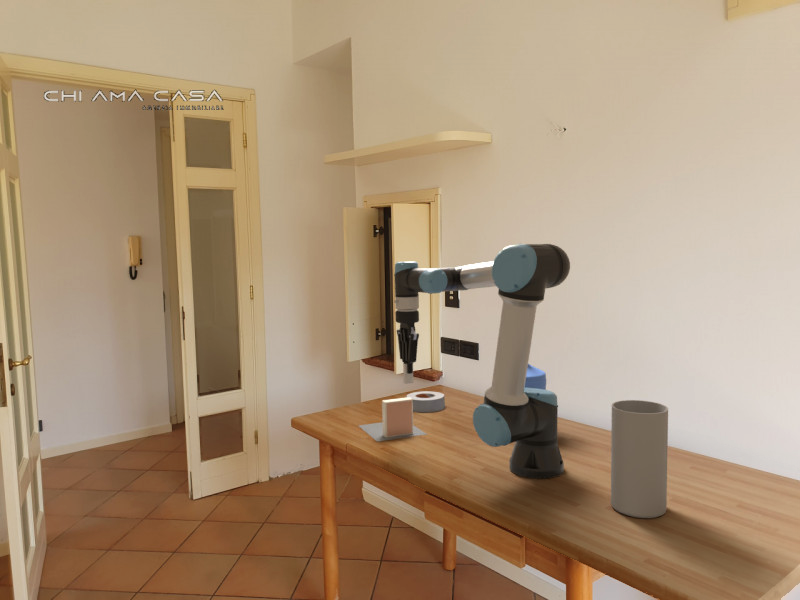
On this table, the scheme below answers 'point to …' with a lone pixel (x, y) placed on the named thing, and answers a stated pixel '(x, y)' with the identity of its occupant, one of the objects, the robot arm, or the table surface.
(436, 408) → the tape roll
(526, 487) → the table surface
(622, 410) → the cylinder vase
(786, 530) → the table surface
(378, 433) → the rubber mat
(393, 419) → the wooden plaque
